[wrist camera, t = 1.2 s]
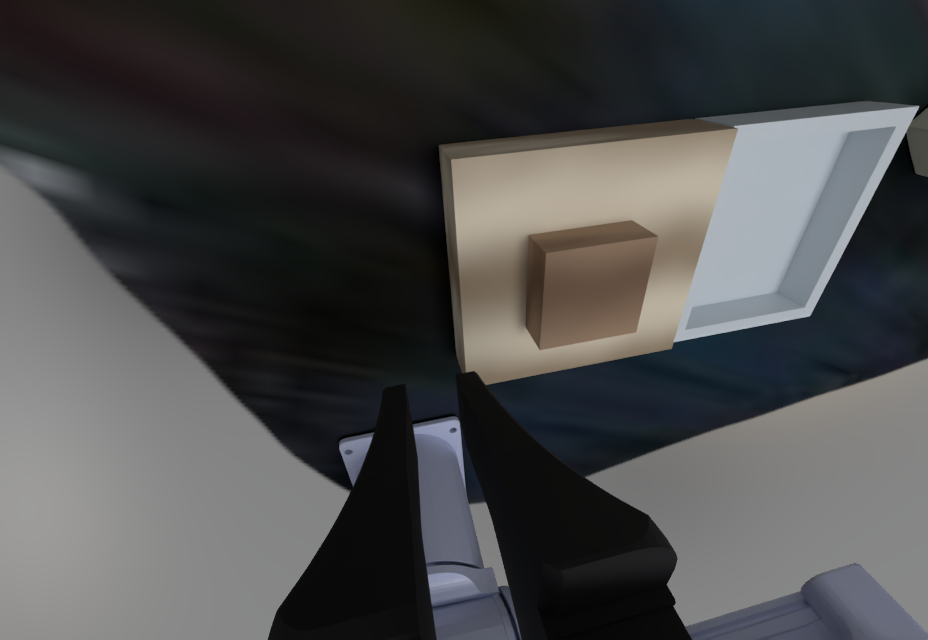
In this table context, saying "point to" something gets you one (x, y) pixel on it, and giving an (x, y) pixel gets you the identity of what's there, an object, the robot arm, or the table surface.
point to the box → (787, 210)
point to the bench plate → (567, 207)
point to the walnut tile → (587, 282)
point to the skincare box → (919, 143)
